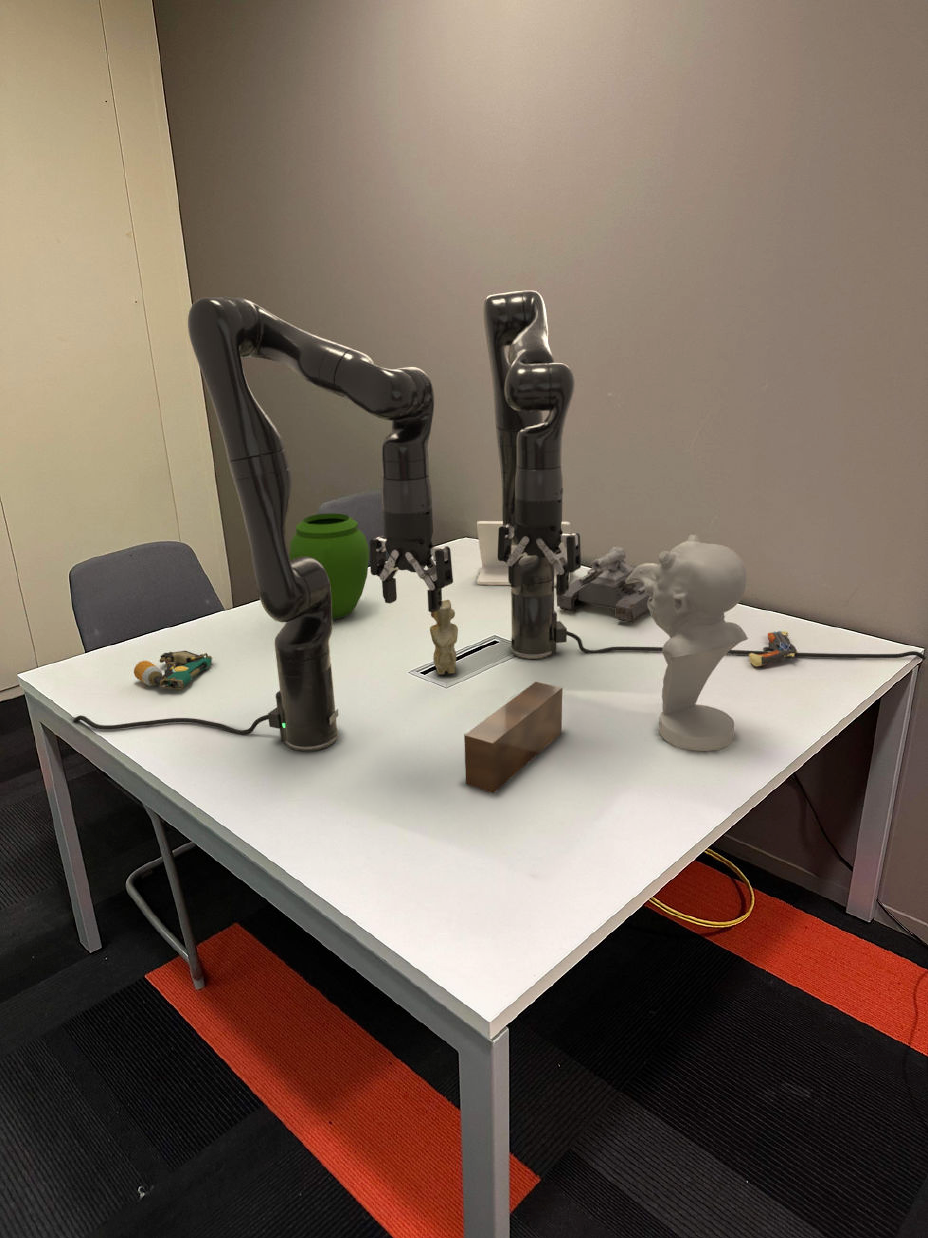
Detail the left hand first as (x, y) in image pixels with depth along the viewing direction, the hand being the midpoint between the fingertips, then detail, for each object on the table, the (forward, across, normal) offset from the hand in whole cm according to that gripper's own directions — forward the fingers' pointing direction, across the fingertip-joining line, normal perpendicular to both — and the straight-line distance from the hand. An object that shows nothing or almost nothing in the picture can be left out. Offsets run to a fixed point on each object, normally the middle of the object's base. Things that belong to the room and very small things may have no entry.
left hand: (412, 606), depth 135 cm
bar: (+28, +13, +10) cm, 32 cm away
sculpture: (+28, -18, +33) cm, 47 cm away
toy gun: (+28, +37, +76) cm, 89 cm away
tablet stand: (+28, -36, +98) cm, 108 cm away
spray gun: (+28, -66, +2) cm, 71 cm away
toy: (+28, -4, +88) cm, 92 cm away
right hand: (0, +13, +18) cm, 22 cm away
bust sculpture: (+28, +32, +33) cm, 54 cm away
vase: (+28, -62, +48) cm, 83 cm away
